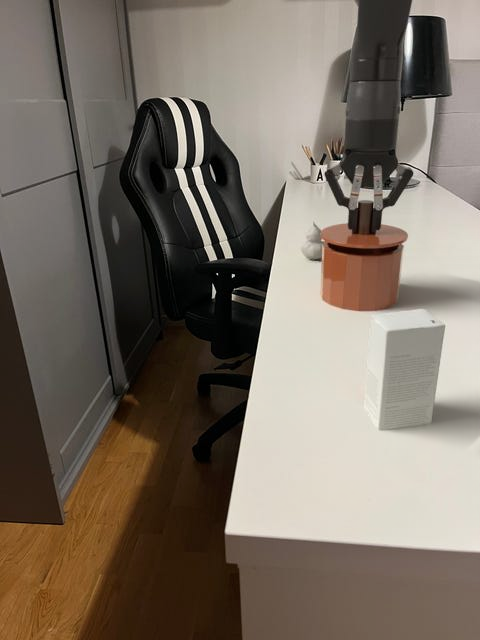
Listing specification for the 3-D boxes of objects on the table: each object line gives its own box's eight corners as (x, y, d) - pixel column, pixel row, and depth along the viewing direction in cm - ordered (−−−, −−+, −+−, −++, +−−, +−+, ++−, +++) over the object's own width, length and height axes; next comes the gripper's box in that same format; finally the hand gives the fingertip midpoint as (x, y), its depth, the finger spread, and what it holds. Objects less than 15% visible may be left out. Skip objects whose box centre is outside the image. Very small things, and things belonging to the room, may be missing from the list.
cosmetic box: (412, 404, 56) (425, 307, 51) (431, 427, 52) (448, 324, 47) (360, 411, 55) (369, 313, 50) (376, 435, 52) (387, 331, 47)
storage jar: (348, 280, 93) (352, 230, 89) (411, 297, 84) (418, 243, 80) (305, 300, 85) (307, 246, 81) (370, 321, 77) (375, 262, 73)
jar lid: (351, 225, 89) (354, 190, 87) (423, 238, 80) (428, 199, 78) (303, 241, 81) (304, 203, 78) (377, 258, 72) (380, 215, 69)
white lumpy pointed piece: (300, 254, 108) (301, 218, 105) (331, 254, 107) (333, 217, 104) (301, 262, 103) (301, 224, 100) (333, 262, 103) (335, 224, 99)
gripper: (419, 113, 75) (406, 227, 82) (325, 115, 77) (320, 225, 85) (425, 116, 68) (411, 240, 75) (322, 118, 71) (318, 237, 78)
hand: (363, 231), depth 80 cm, fingers closed on jar lid, 2 cm apart
